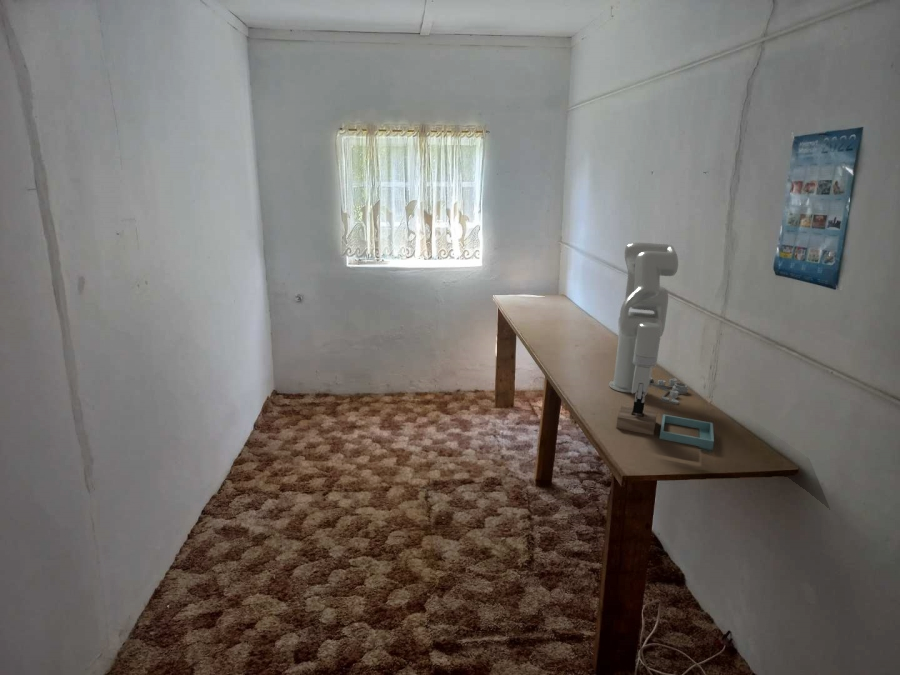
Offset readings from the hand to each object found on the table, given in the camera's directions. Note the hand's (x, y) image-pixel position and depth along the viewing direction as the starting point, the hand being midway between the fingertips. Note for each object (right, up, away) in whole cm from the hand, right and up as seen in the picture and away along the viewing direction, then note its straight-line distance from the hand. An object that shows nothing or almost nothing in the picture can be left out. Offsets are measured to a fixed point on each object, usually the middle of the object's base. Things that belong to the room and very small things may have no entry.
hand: (638, 410), depth 198 cm
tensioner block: (0, -6, +2) cm, 6 cm away
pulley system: (+25, +2, +38) cm, 45 cm away
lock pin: (0, -5, +1) cm, 5 cm away
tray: (+15, -8, -4) cm, 17 cm away
